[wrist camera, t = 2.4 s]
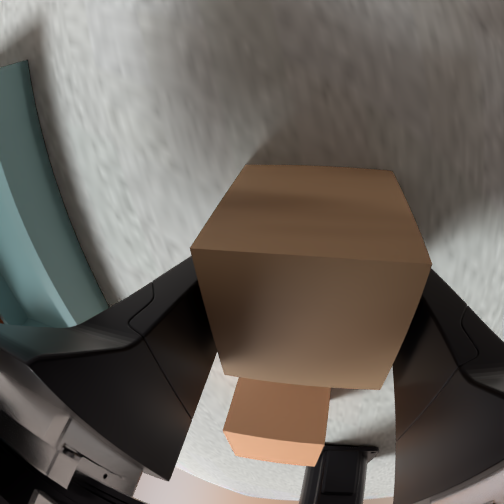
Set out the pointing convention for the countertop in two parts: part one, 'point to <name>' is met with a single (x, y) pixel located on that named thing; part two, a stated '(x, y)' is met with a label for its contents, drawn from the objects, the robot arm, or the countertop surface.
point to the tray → (36, 223)
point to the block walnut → (311, 274)
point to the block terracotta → (278, 421)
